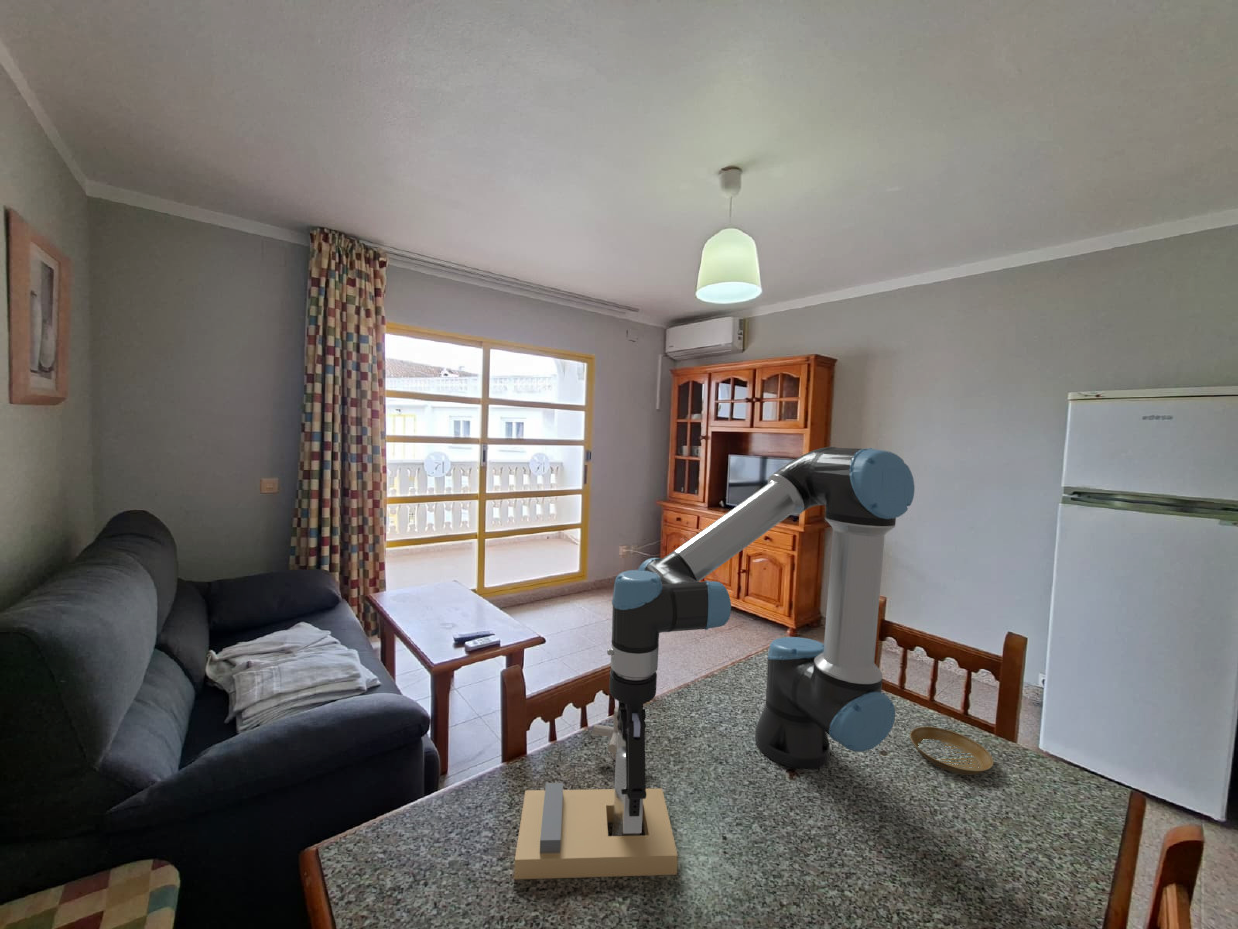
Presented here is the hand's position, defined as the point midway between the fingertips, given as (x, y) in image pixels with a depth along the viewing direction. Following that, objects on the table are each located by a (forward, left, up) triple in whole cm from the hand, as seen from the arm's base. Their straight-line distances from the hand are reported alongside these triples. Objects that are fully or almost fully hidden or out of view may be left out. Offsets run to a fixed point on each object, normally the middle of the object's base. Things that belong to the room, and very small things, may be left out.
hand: (627, 798), depth 79 cm
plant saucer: (-71, -19, -7) cm, 74 cm away
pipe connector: (0, -20, -7) cm, 21 cm away
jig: (+5, 0, -7) cm, 8 cm away
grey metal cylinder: (0, 0, -7) cm, 7 cm away
